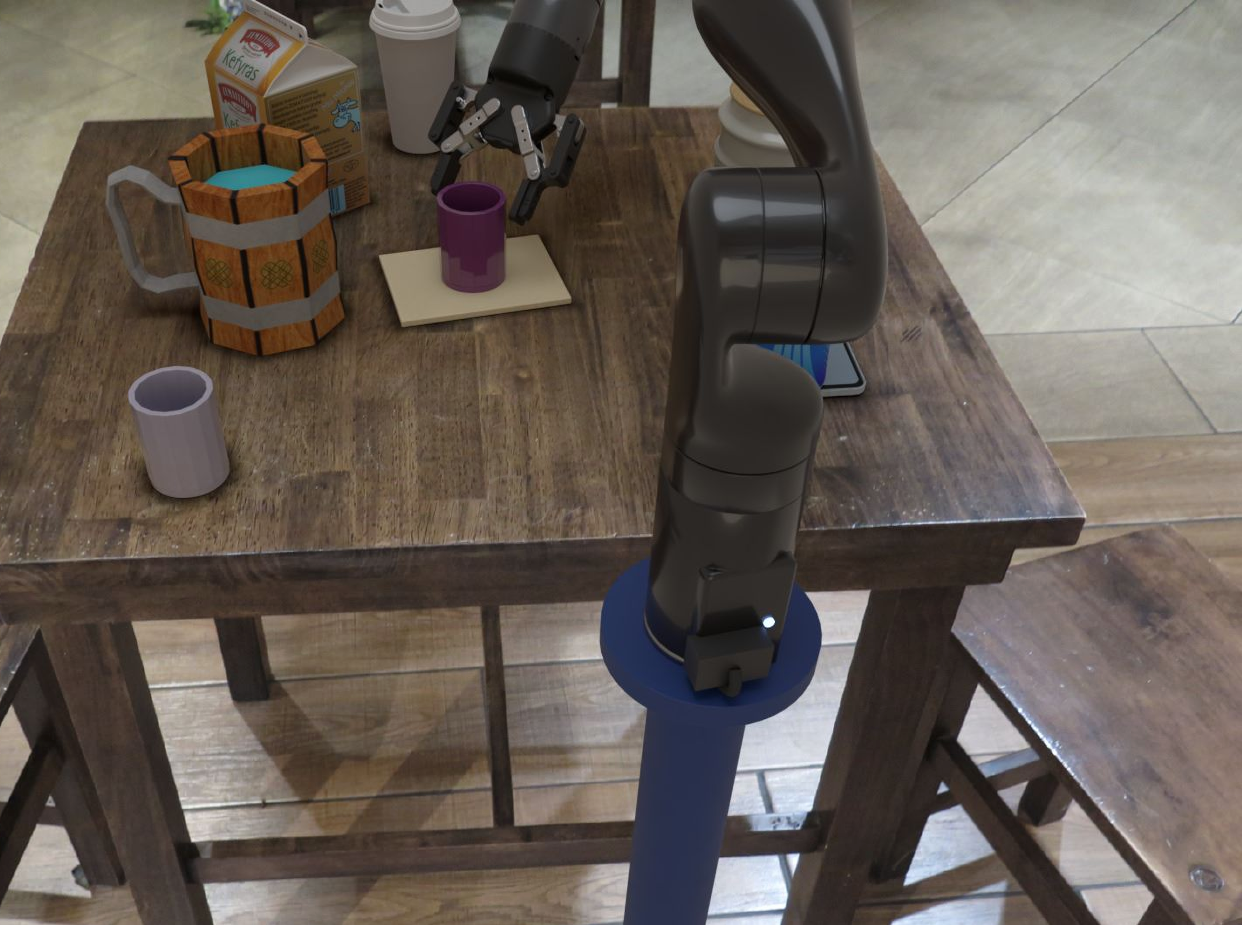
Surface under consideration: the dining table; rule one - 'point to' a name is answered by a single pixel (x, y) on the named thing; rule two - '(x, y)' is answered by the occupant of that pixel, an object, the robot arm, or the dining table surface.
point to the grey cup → (179, 431)
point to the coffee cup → (415, 65)
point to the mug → (248, 236)
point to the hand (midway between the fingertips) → (476, 210)
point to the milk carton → (292, 93)
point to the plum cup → (472, 236)
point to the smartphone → (842, 372)
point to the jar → (748, 136)
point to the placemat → (433, 301)
